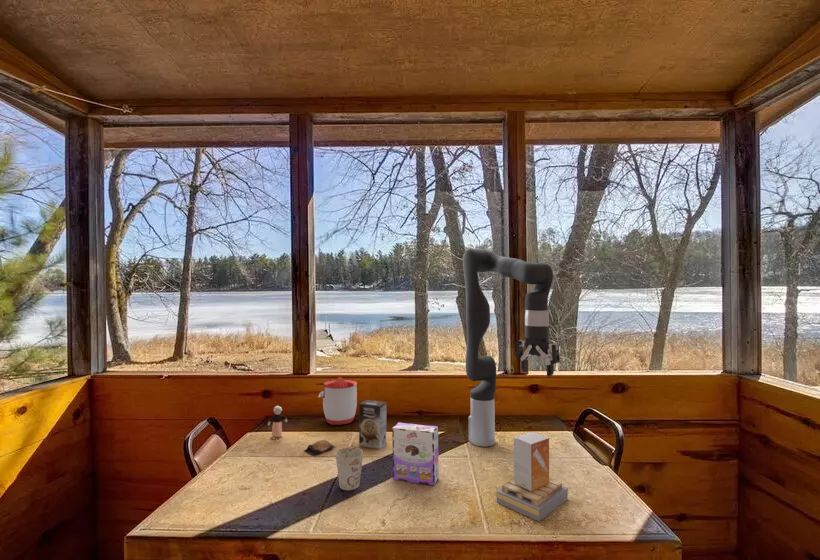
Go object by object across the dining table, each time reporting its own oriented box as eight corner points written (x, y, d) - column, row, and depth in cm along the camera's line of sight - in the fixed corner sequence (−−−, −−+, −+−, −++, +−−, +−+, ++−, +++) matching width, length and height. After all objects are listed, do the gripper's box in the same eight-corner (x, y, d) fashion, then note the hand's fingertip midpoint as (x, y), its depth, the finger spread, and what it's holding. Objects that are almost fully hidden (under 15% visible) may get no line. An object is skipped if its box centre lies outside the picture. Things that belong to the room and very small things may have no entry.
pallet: (501, 491, 112) (501, 485, 112) (527, 474, 122) (527, 469, 122) (537, 506, 104) (537, 500, 104) (562, 487, 114) (562, 482, 114)
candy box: (439, 477, 127) (438, 425, 127) (434, 486, 121) (433, 432, 121) (398, 471, 131) (398, 421, 131) (392, 479, 125) (391, 427, 126)
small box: (531, 492, 108) (531, 444, 108) (513, 483, 113) (512, 437, 114) (550, 483, 113) (549, 437, 113) (531, 475, 118) (531, 431, 118)
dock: (495, 501, 112) (495, 491, 112) (526, 482, 123) (526, 472, 123) (538, 521, 103) (538, 510, 103) (567, 498, 114) (567, 488, 114)
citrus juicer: (318, 417, 186) (318, 374, 186) (355, 414, 190) (355, 372, 190) (318, 429, 170) (318, 382, 171) (359, 425, 175) (359, 379, 175)
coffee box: (358, 446, 152) (358, 403, 152) (366, 440, 158) (366, 399, 158) (379, 449, 149) (379, 406, 149) (387, 443, 155) (387, 401, 155)
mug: (340, 495, 116) (340, 460, 117) (328, 477, 127) (328, 445, 128) (367, 488, 120) (367, 454, 120) (353, 471, 131) (353, 440, 132)
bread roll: (323, 443, 156) (323, 434, 156) (338, 449, 151) (338, 439, 151) (301, 452, 148) (301, 442, 148) (315, 458, 143) (315, 448, 143)
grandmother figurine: (270, 440, 158) (270, 408, 158) (266, 438, 161) (266, 406, 161) (288, 436, 163) (288, 404, 163) (285, 433, 166) (285, 402, 166)
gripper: (511, 323, 132) (511, 372, 132) (551, 326, 122) (552, 379, 122) (523, 321, 137) (523, 369, 137) (563, 324, 127) (563, 375, 127)
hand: (537, 374), depth 129 cm, fingers open, 8 cm apart
